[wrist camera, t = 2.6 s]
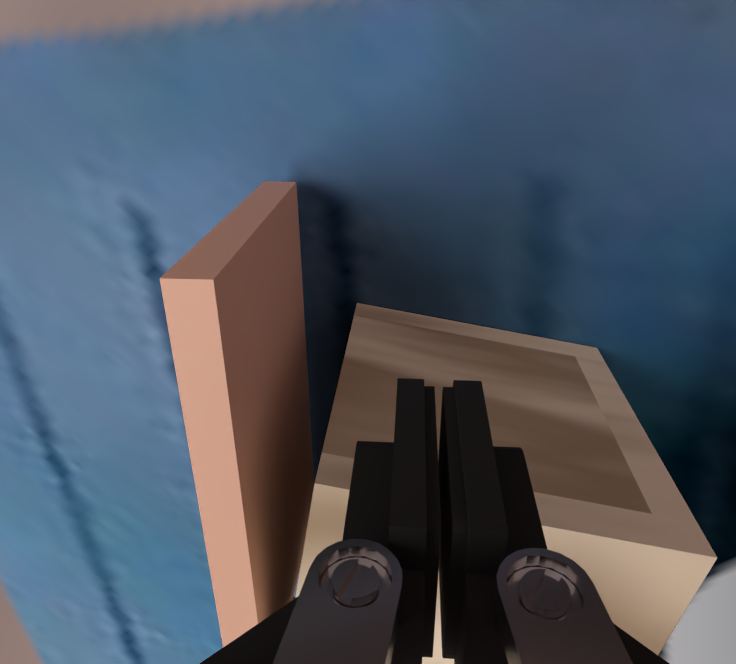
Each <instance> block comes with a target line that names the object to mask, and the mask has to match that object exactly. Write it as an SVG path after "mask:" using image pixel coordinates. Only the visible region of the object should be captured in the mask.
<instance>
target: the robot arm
mask: <svg viewBox="0 0 736 664" xmlns="http://www.w3.org/2000/svg"><path fill="white" fill-rule="evenodd" d="M438 571H439V588H440V614H441V640H442V657H443V658H447V659H454V664H669V663H668V662H666V661H665V660H663V659H662V658H661V657H659V656H658V655H657V654H655V653H654V652H652V651H651V650H650V649H648V648H647V647H646V646H644V645H643V644H641V643H640V642H639V641H637V640H636V639H635V638H633V637H632V636H630V635H629V634H628V633H626V632H625V631H623V630H622V629H621V628H619V627H618V626H617V625H615V624H614V623H613V622H612V620H611V618H610V616H609V614H608V612H607V610H606V608H605V606H604V604H603V602H602V600H601V598H600V596H599V593H598V591H597V589H596V587H595V585H594V583H593V582H592V580H591V579H590V577H589V576H588V574H587V573H586V571H585V570H584V569H583V568H581V567H580V566H579V565H578V564H577V563H576V562H575V561H573V560H572V559H570V558H568V557H566V556H564V555H563V554H561V553H558V552H555V551H551V550H548V549H547V545H546V541H545V537H544V533H543V529H542V525H541V521H540V517H539V513H538V509H537V505H536V501H535V496H534V492H533V488H532V484H531V480H530V476H529V472H528V468H527V464H526V460H525V456H524V453H523V450H522V449H521V447H498V446H493V443H492V437H491V431H490V426H489V420H488V414H487V409H486V403H485V398H484V392H483V386H482V382H481V381H470V380H454V381H453V387H443V390H442V406H441V423H440V440H439V456H438V447H437V426H436V404H435V387H434V386H424V379H409V378H398V379H397V395H396V413H395V431H394V442H373V441H357V444H356V449H355V456H354V463H353V470H352V477H351V484H350V491H349V498H348V505H347V511H346V518H345V525H344V532H343V539H342V541H338V542H336V543H334V544H332V545H330V546H328V547H326V548H325V549H324V550H323V551H321V552H320V553H319V554H318V555H317V556H316V557H315V559H314V561H313V562H312V564H311V566H310V568H309V570H308V573H307V576H306V578H305V581H304V583H303V586H302V589H301V591H300V594H299V596H298V597H297V598H295V599H294V600H292V601H291V602H289V603H288V604H286V605H285V606H283V607H282V608H280V609H279V610H277V611H276V612H275V613H273V614H272V615H270V616H269V617H267V618H266V619H264V620H263V621H261V622H260V623H258V624H257V625H256V626H254V627H253V628H251V629H250V630H248V631H247V632H245V633H244V634H242V635H241V636H239V637H238V638H237V639H235V640H234V641H232V642H231V643H229V644H228V645H226V646H225V647H223V648H222V649H220V650H219V651H217V652H216V653H215V654H213V655H212V656H210V657H209V658H207V659H206V660H204V661H203V662H201V663H200V664H422V657H431V658H432V657H433V645H434V630H435V616H436V601H437V586H438Z"/></svg>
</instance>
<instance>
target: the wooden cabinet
mask: <svg viewBox="0 0 736 664" xmlns="http://www.w3.org/2000/svg"><path fill="white" fill-rule="evenodd" d="M398 378H409V379H424V386H434V387H435V404H436V426H437V447H438V456H439V440H440V423H441V406H442V390H443V387H453V381H454V380H470V381H481V382H482V386H483V392H484V398H485V403H486V409H487V414H488V420H489V426H490V431H491V437H492V443H493V446H498V447H521V449H522V450H523V453H524V456H525V460H526V464H527V468H528V472H529V476H530V480H531V484H532V488H533V492H534V496H535V501H536V505H537V509H538V513H539V517H540V521H541V525H542V529H543V533H544V537H545V541H546V545H547V549H548V550H551V551H555V552H558V553H561V554H563V555H564V556H566V557H568V558H570V559H572V560H573V561H575V562H576V563H577V564H578V565H579V566H580V567H581V568H583V569H584V570H585V571H586V573H587V574H588V576H589V577H590V579H591V580H592V582H593V583H594V585H595V587H596V589H597V591H598V593H599V596H600V598H601V600H602V602H603V604H604V606H605V608H606V610H607V612H608V614H609V616H610V618H611V620H612V622H613V623H614V624H615V625H617V626H618V627H619V628H621V629H622V630H623V631H625V632H626V633H628V634H629V635H630V636H632V637H633V638H635V639H636V640H637V641H639V642H640V643H641V644H643V645H644V646H646V647H647V648H648V649H650V650H651V651H652V652H654V653H655V654H657V655H658V654H659V653H660V651H661V650H662V648H663V646H664V645H665V643H666V641H667V640H668V638H669V636H670V635H671V633H672V632H673V630H674V628H675V627H676V625H677V623H678V622H679V620H680V618H681V617H682V615H683V613H684V612H685V610H686V609H687V607H688V605H689V604H690V602H691V600H692V599H693V597H694V595H695V594H696V592H697V591H698V589H699V587H700V586H701V584H702V582H703V581H704V579H705V577H706V576H707V574H708V573H709V571H710V569H711V568H712V566H713V564H714V563H715V561H716V559H717V556H716V555H715V553H714V551H713V549H712V548H711V546H710V544H709V542H708V541H707V539H706V537H705V535H704V534H703V532H702V530H701V528H700V527H699V525H698V523H697V521H696V520H695V518H694V516H693V514H692V513H691V511H690V509H689V507H688V506H687V504H686V502H685V500H684V499H683V497H682V495H681V494H680V492H679V490H678V488H677V487H676V485H675V483H674V481H673V480H672V478H671V476H670V474H669V473H668V471H667V469H666V467H665V466H664V464H663V462H662V460H661V459H660V457H659V455H658V453H657V452H656V450H655V448H654V446H653V445H652V443H651V441H650V439H649V438H648V436H647V434H646V432H645V431H644V429H643V427H642V425H641V424H640V422H639V420H638V418H637V417H636V415H635V413H634V411H633V410H632V408H631V406H630V404H629V403H628V401H627V399H626V397H625V396H624V394H623V392H622V390H621V389H620V387H619V385H618V383H617V382H616V380H615V378H614V376H613V375H612V373H611V371H610V369H609V368H608V366H607V364H606V362H605V361H604V359H603V357H602V355H601V354H600V352H599V350H598V349H597V348H596V347H590V346H585V345H580V344H574V343H569V342H564V341H558V340H553V339H548V338H542V337H537V336H532V335H526V334H521V333H516V332H510V331H505V330H500V329H494V328H489V327H484V326H478V325H473V324H468V323H462V322H457V321H452V320H446V319H441V318H436V317H430V316H425V315H420V314H414V313H409V312H404V311H398V310H393V309H388V308H382V307H377V306H372V305H366V304H361V303H357V305H356V309H355V313H354V317H353V322H352V326H351V330H350V334H349V339H348V343H347V347H346V352H345V356H344V360H343V364H342V369H341V373H340V377H339V381H338V386H337V390H336V394H335V398H334V403H333V407H332V411H331V416H330V420H329V424H328V428H327V433H326V437H325V441H324V445H323V450H322V454H321V458H320V462H319V467H318V471H317V475H316V479H315V484H314V490H313V496H312V502H311V508H310V514H309V520H308V526H307V532H306V538H305V544H304V550H303V556H302V562H301V568H300V574H299V580H298V586H297V592H296V597H293V600H294V599H295V598H297V597H298V596H299V594H300V591H301V589H302V586H303V583H304V581H305V578H306V576H307V573H308V570H309V568H310V566H311V564H312V562H313V561H314V559H315V557H316V556H317V555H318V554H319V553H320V552H321V551H323V550H324V549H325V548H326V547H328V546H330V545H332V544H334V543H336V542H338V541H342V539H343V532H344V525H345V518H346V511H347V505H348V498H349V491H350V484H351V477H352V470H353V463H354V456H355V449H356V444H357V441H373V442H394V431H395V413H396V395H397V379H398ZM422 664H454V659H447V658H443V657H442V640H441V614H440V588H439V571H438V586H437V601H436V616H435V630H434V645H433V657H432V658H431V657H422Z"/></svg>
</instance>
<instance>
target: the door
mask: <svg viewBox="0 0 736 664" xmlns="http://www.w3.org/2000/svg"><path fill="white" fill-rule="evenodd" d="M160 283H161V289H162V295H163V301H164V306H165V312H166V318H167V324H168V330H169V336H170V341H171V347H172V353H173V359H174V365H175V370H176V376H177V382H178V388H179V394H180V399H181V405H182V411H183V417H184V423H185V428H186V434H187V440H188V446H189V452H190V457H191V463H192V469H193V475H194V481H195V486H196V492H197V498H198V504H199V510H200V515H201V521H202V527H203V533H204V539H205V544H206V550H207V556H208V562H209V568H210V573H211V579H212V585H213V591H214V597H215V602H216V608H217V614H218V620H219V626H220V631H221V637H222V643H223V647H225V646H226V645H228V644H229V643H231V642H232V641H234V640H235V639H237V638H238V637H239V636H241V635H242V634H244V633H245V632H247V631H248V630H250V629H251V628H253V627H254V626H256V625H257V624H258V623H260V622H261V621H263V620H264V619H266V618H267V617H269V616H270V615H272V614H273V613H275V612H276V611H277V610H279V609H280V608H282V607H283V606H285V605H286V604H288V603H289V602H291V601H292V600H293V595H294V591H295V587H296V582H297V578H298V573H299V569H300V564H301V560H302V555H303V550H304V544H305V538H306V532H307V526H308V520H309V514H310V508H311V502H312V496H313V490H314V471H313V454H312V437H311V420H310V403H309V386H308V369H307V352H306V335H305V318H304V301H303V284H302V267H301V250H300V233H299V216H298V199H297V182H279V181H264V182H263V183H262V184H261V185H260V186H259V187H257V188H256V189H255V190H254V191H253V192H252V193H251V194H250V195H249V196H248V197H247V198H246V199H245V200H243V201H242V202H241V203H240V204H239V205H238V206H237V207H236V208H235V209H234V210H233V211H232V212H231V213H229V214H228V215H227V216H226V217H225V218H224V219H223V220H222V221H221V222H220V223H219V224H218V225H217V226H216V227H214V228H213V229H212V230H211V231H210V232H209V233H208V234H207V235H206V236H205V237H204V238H203V239H202V240H200V241H199V242H198V243H197V244H196V245H195V246H194V247H193V248H192V249H191V250H190V251H189V252H188V253H186V254H185V255H184V256H183V257H182V258H181V259H180V260H179V261H178V262H177V263H176V264H175V265H174V266H172V267H171V268H170V269H169V270H168V271H167V272H166V273H165V274H164V275H163V276H162V277H161V278H160Z"/></svg>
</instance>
